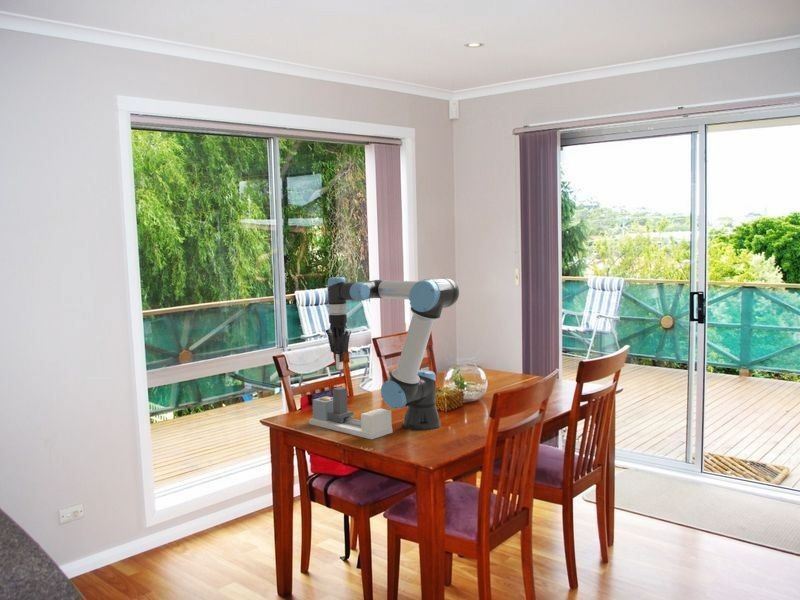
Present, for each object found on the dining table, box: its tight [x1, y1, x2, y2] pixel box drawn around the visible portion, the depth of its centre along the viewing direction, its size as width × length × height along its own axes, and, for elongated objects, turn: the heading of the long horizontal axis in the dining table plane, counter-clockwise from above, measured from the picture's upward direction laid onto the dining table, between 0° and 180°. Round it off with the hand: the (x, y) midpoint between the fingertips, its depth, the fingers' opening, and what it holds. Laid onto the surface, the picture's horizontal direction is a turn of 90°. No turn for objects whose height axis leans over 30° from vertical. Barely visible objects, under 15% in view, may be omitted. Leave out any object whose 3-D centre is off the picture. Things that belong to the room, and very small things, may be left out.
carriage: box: [327, 386, 354, 423], centre depth 299 cm, size 7×8×13 cm
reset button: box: [320, 396, 331, 401], centre depth 304 cm, size 4×4×5 cm
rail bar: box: [343, 417, 361, 427], centre depth 295 cm, size 22×2×2 cm, turn 49°
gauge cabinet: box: [312, 395, 333, 421], centre depth 305 cm, size 8×8×8 cm
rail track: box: [308, 408, 394, 440], centre depth 296 cm, size 36×12×9 cm, turn 49°
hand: (339, 369), depth 307 cm, fingers closed
